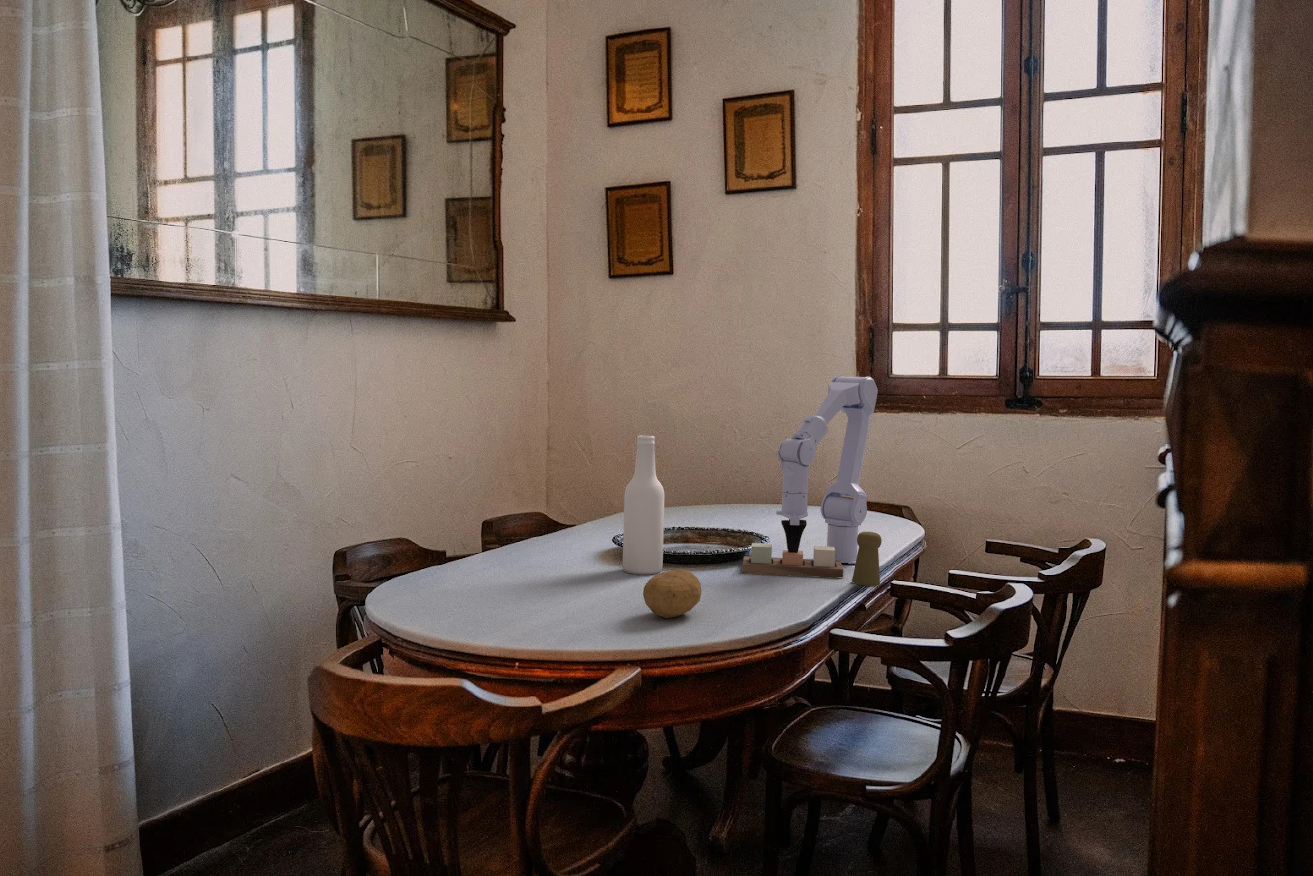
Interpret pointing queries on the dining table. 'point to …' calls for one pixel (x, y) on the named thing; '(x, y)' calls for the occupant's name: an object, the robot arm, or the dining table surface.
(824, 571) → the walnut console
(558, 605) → the dining table surface
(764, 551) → the sage button
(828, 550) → the cream button
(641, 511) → the alcohol
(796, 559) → the terracotta button
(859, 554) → the cork
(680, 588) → the potato
